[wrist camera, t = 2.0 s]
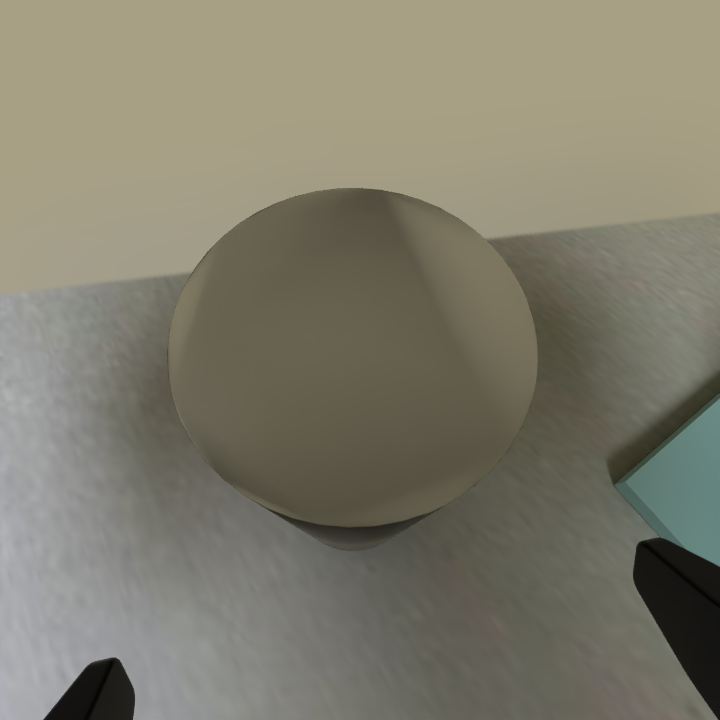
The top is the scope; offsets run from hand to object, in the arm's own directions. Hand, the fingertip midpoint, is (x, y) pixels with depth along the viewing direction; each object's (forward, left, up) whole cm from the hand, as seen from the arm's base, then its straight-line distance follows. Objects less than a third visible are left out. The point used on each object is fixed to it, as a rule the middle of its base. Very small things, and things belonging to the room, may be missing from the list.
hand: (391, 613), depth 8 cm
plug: (+3, -1, -9) cm, 9 cm away
